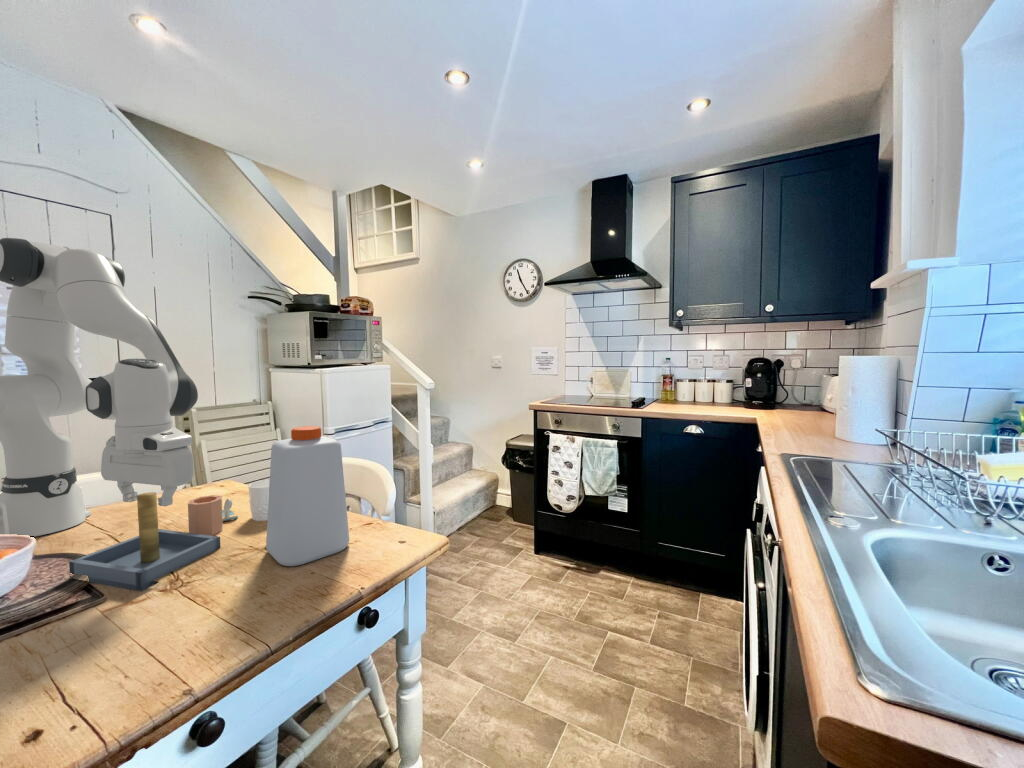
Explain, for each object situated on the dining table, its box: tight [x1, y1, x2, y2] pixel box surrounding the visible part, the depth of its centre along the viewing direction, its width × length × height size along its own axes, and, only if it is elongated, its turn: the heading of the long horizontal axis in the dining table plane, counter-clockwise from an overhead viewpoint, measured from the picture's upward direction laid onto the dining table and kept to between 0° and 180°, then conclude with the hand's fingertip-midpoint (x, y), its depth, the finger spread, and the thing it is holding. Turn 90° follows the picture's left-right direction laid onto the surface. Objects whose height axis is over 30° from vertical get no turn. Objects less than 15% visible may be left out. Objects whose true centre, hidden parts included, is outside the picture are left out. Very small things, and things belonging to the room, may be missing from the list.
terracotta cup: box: [187, 494, 224, 536], centre depth 99 cm, size 6×6×9 cm
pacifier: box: [222, 498, 238, 522], centre depth 107 cm, size 7×6×6 cm
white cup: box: [248, 478, 270, 522], centre depth 109 cm, size 8×8×10 cm
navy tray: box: [68, 528, 221, 592], centre depth 85 cm, size 18×16×4 cm
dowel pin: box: [136, 491, 160, 563], centre depth 84 cm, size 3×3×14 cm
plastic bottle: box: [265, 425, 350, 567], centre depth 92 cm, size 15×15×28 cm
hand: (147, 503), depth 84 cm, fingers open, 8 cm apart
